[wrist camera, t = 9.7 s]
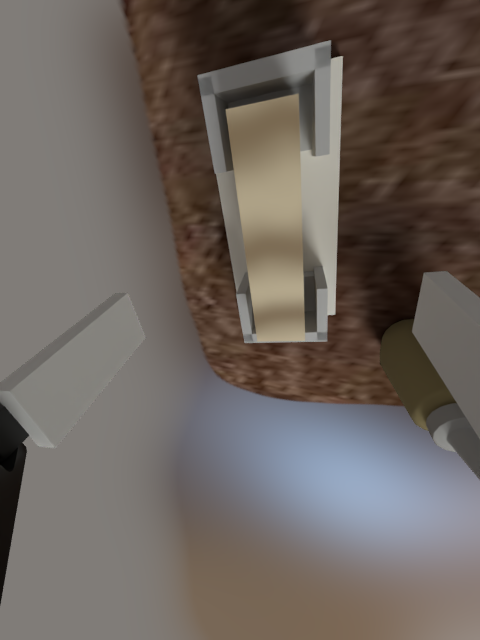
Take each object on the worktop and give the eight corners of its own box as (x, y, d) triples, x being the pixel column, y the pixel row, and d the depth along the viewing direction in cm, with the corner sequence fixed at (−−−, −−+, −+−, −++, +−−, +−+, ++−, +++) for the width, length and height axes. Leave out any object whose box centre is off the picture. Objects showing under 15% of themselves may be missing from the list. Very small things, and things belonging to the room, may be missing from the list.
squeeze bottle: (365, 321, 34) (418, 453, 19) (438, 301, 31) (568, 438, 16) (379, 367, 38) (434, 510, 23) (447, 353, 35) (561, 507, 20)
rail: (245, 121, 24) (225, 109, 17) (298, 110, 23) (298, 93, 16) (265, 302, 33) (257, 341, 26) (303, 301, 32) (305, 340, 25)
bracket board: (204, 92, 25) (176, 75, 19) (340, 59, 22) (356, 26, 16) (242, 314, 37) (232, 345, 31) (334, 310, 34) (341, 343, 28)
